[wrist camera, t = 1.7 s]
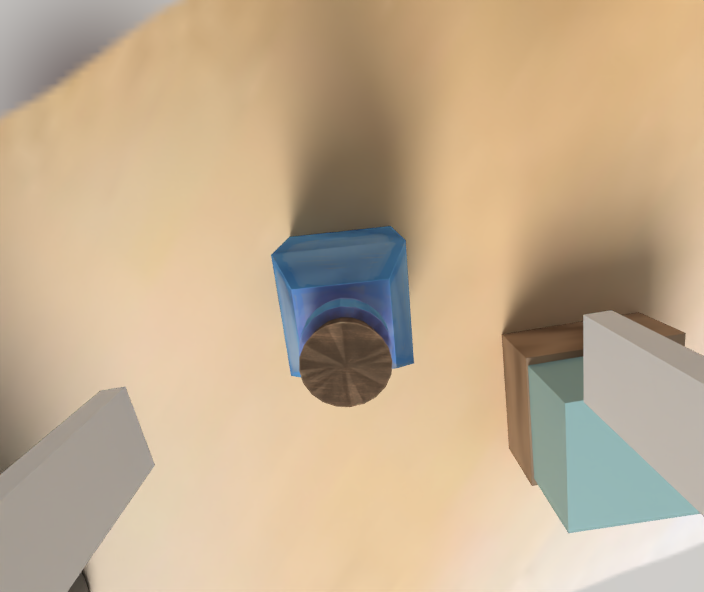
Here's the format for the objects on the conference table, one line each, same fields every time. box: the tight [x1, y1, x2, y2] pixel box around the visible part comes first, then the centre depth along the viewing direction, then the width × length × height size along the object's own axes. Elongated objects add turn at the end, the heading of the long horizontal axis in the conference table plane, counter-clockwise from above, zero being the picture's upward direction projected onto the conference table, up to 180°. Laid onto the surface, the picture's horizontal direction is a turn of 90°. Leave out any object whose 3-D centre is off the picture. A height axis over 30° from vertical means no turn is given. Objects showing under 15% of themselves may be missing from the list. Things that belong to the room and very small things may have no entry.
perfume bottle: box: [271, 226, 414, 407], centre depth 19 cm, size 6×6×12 cm
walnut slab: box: [502, 313, 686, 486], centre depth 25 cm, size 9×9×4 cm
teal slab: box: [528, 356, 701, 533], centre depth 22 cm, size 8×8×4 cm
